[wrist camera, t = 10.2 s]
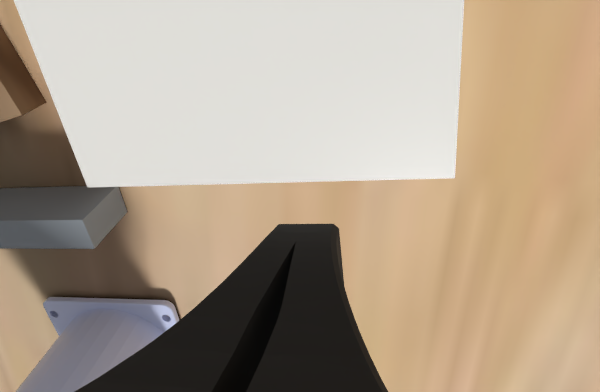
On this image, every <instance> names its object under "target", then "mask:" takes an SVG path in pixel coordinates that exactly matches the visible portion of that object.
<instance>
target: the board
mask: <svg viewBox="0 0 600 392" xmlns="http://www.w3.org/2000/svg"><path fill="white" fill-rule="evenodd" d="M14 2H15V5H16V7H17V10H18V12H19V15H20V17H21V20H22V23H23V25H24V28H25V30H26V33H27V35H28V38H29V40H30V43H31V45H32V48H33V50H34V53H35V56H36V58H37V61H38V63H39V66H40V68H41V71H42V73H43V76H44V78H45V81H46V83H47V86H48V89H49V91H50V94H51V96H52V99H53V101H54V104H55V106H56V109H57V111H58V114H59V116H60V119H61V122H62V124H63V127H64V129H65V132H66V134H67V137H68V139H69V142H70V144H71V147H72V149H73V152H74V155H75V157H76V160H77V162H78V165H79V167H80V170H81V172H82V175H83V177H84V180H85V182H86V185H87V187H126V186H165V185H204V184H243V183H282V182H321V181H360V180H399V179H438V178H455V166H456V147H457V128H458V109H459V89H460V70H461V51H462V32H463V13H464V0H14Z"/></svg>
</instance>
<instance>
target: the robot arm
mask: <svg viewBox="0 0 600 392" xmlns="http://www.w3.org/2000/svg"><path fill="white" fill-rule="evenodd" d="M43 305H44V308H45V310H46V312H47V314H48V316H49V318H50V320H51V322H52V323H53V325H54V327H55V329H56V331H57V333H58V335H59V337H58V339H57V340H56V341H55V342H54V344H53V345H52V346H51V347H50V349H49V350H48V351H47V353H46V354H45V355H44V356H43V358H42V359H41V360H40V361H39V363H38V364H37V365H36V366H35V368H34V369H33V370H32V371H31V373H30V374H29V375H28V377H27V378H26V379H25V380H24V382H23V383H22V384H21V385H20V387H19V388H18V389H17V390H16V392H388V391H387V389H386V387H385V385H384V383H383V382H382V380H381V378H380V376H379V373H378V371H377V369H376V367H375V365H374V363H373V361H372V359H371V357H370V355H369V352H368V350H367V348H366V346H365V343H364V341H363V339H362V336H361V334H360V332H359V329H358V326H357V324H356V321H355V319H354V316H353V313H352V310H351V307H350V304H349V301H348V298H347V295H346V292H345V288H344V279H343V269H342V258H341V247H340V236H339V228H338V227H336V226H335V225H334V224H279V225H278V226H277V227H276V228H275V229H274V230H273V231H272V232H271V233H270V234H269V235H268V236H267V237H266V238H265V239H264V240H263V241H262V242H261V243H260V244H259V245H258V246H257V248H256V249H255V250H254V251H253V252H252V253H251V254H250V255H249V256H248V257H247V258H246V259H245V260H244V261H243V262H242V263H241V264H240V265H239V266H238V267H237V268H236V269H235V270H234V271H233V272H232V273H231V274H230V275H229V276H228V277H227V278H226V279H225V280H224V281H223V282H222V283H221V284H220V285H219V286H218V287H217V288H216V289H215V290H214V291H213V292H211V293H210V294H209V295H208V296H207V297H206V298H205V299H204V300H203V301H202V302H201V303H199V304H198V305H197V306H196V307H195V308H194V309H193V310H192V311H190V312H189V313H188V314H187V315H186V316H184V317H183V318H182V319H181V320H179V318H178V315H177V312H176V309H175V306H174V305H173V304H172V303H171V302H170V301H167V300H144V299H109V298H73V297H49V298H47V299H46V300H45V302H44V303H43ZM167 315H168V316H167Z"/></svg>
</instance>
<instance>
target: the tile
mask: <svg viewBox="0 0 600 392" xmlns="http://www.w3.org/2000/svg"><path fill="white" fill-rule="evenodd" d="M44 103H46V101H45V99H44V97H43V96H42V94H41V92H40V91H39V89H38V87H37V86H36V84H35V82H34V81H33V79H32V77H31V76H30V74H29V72H28V71H27V69H26V67H25V65H24V64H23V62H22V60H21V59H20V57H19V55H18V54H17V52H16V50H15V49H14V47H13V45H12V44H11V42H10V40H9V39H8V37H7V35H6V34H5V32H4V30H3V29H2V27H1V25H0V122H3V121H6V120H9V119H12V118H15V117H18V116H21V115H24V114H25V113H27V112H29V111H31V110H33V109H35V108H37V107H39V106H40V105H42V104H44Z"/></svg>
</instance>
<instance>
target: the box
mask: <svg viewBox="0 0 600 392" xmlns="http://www.w3.org/2000/svg"><path fill="white" fill-rule="evenodd" d="M126 213H127V209H126V206H125V204H124V201H123V198H122V195H121V192H120V190H119V187H87V186H66V187H29V188H0V248H30V249H95V248H96V247H97V245H98V244H99V243H100V242H101V241H102V240H103V239H104V238H105V236H106V235H107V234H108V233H109V232H110V231H111V230H112V229H113V228H114V226H115V225H116V224H117V223H118V222H119V221H120V220H121V219H122V217H123V216H124V215H125V214H126Z"/></svg>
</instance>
